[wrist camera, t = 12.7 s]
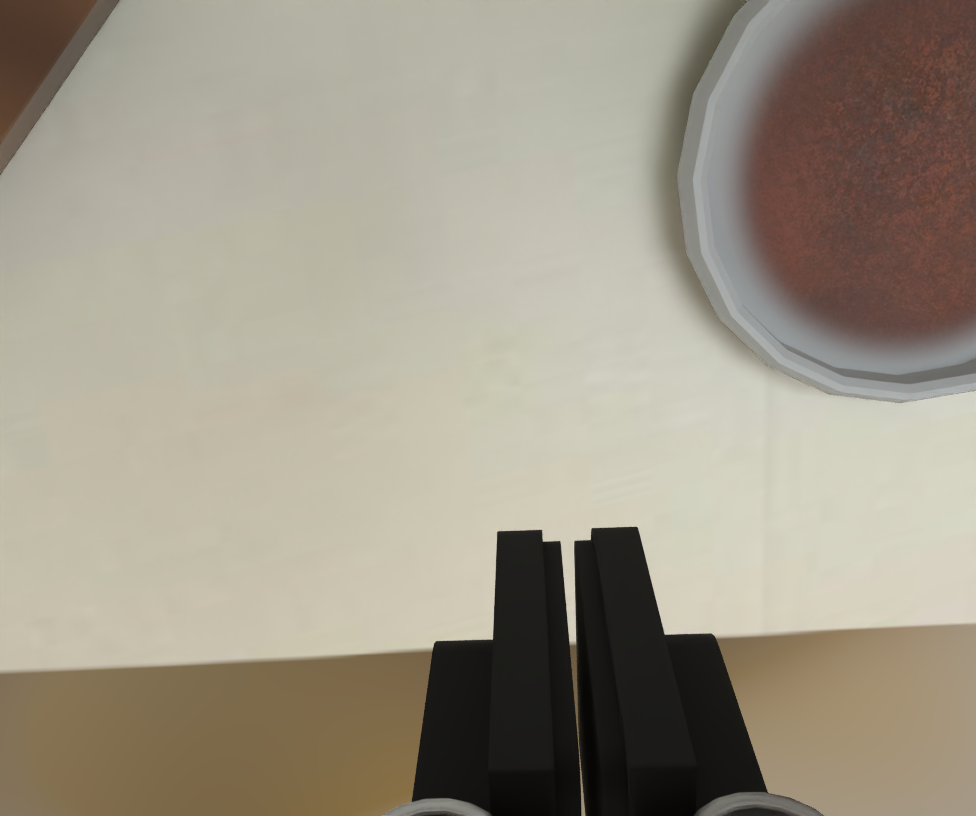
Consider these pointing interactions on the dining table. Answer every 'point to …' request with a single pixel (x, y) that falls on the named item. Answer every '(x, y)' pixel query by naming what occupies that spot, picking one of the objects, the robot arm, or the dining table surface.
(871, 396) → the frying pan
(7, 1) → the walnut board
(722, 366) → the dining table surface
